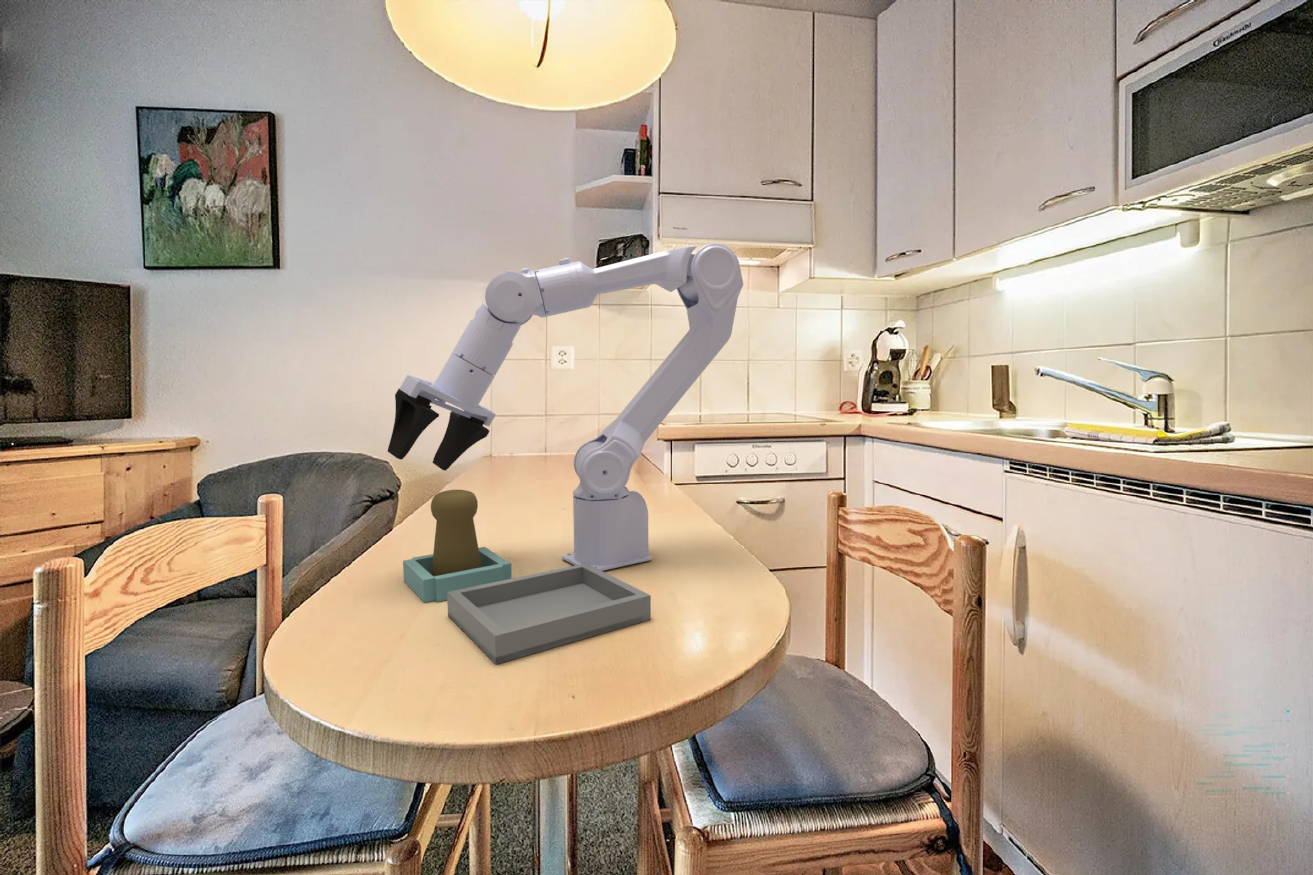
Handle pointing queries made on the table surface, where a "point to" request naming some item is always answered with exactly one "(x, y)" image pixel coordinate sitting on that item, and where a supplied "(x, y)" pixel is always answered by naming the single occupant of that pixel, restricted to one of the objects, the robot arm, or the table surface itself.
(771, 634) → the table surface
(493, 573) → the teal collar
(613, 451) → the robot arm
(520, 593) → the charcoal tray
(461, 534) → the cork
